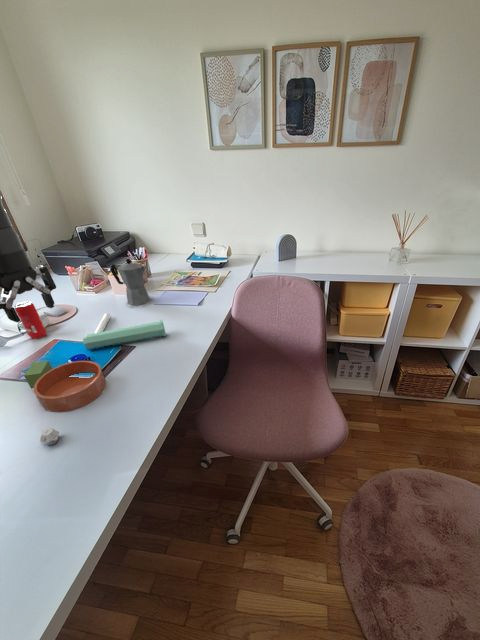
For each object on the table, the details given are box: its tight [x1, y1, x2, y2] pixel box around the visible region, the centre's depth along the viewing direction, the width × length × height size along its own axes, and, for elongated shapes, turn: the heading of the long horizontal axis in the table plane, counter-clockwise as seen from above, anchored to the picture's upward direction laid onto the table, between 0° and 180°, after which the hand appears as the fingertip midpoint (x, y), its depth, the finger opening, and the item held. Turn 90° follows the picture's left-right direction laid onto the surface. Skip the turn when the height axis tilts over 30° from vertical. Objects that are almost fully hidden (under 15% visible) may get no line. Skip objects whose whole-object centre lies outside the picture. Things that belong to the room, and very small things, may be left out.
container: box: [82, 319, 167, 351], centre depth 99 cm, size 6×6×25 cm
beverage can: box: [14, 300, 47, 340], centre depth 101 cm, size 5×5×12 cm
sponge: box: [23, 360, 54, 389], centre depth 83 cm, size 4×6×4 cm, turn 13°
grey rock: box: [39, 427, 60, 446], centre depth 65 cm, size 4×4×3 cm
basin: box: [33, 360, 107, 413], centre depth 79 cm, size 15×15×4 cm
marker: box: [94, 312, 111, 333], centre depth 109 cm, size 18×2×2 cm, turn 11°
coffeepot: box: [109, 258, 150, 306], centre depth 123 cm, size 15×9×18 cm, turn 82°
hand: (34, 314), depth 76 cm, fingers open, 8 cm apart
